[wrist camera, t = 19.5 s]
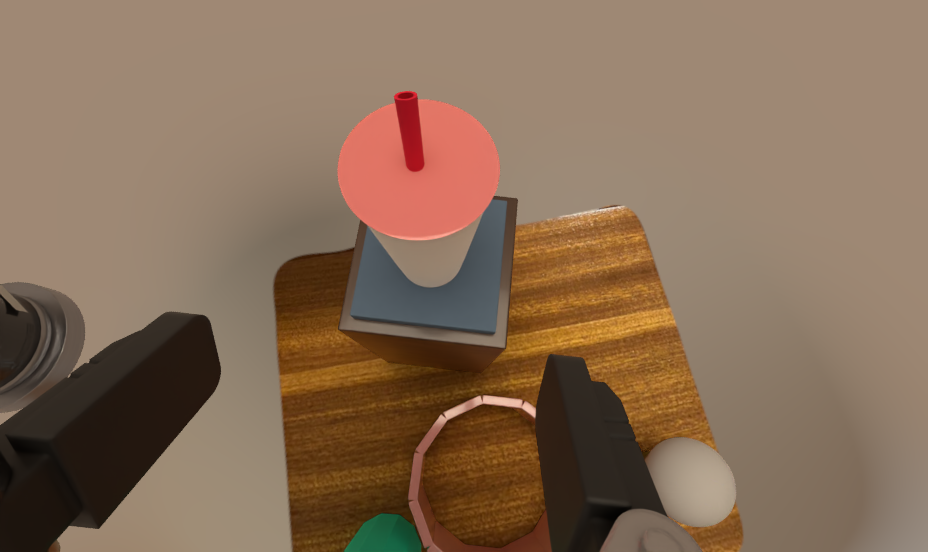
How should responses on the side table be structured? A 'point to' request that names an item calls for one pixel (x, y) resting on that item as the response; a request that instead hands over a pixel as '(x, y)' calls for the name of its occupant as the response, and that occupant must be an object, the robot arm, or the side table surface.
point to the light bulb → (691, 481)
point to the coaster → (447, 306)
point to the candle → (385, 535)
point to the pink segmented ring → (436, 538)
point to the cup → (420, 183)
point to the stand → (432, 342)
